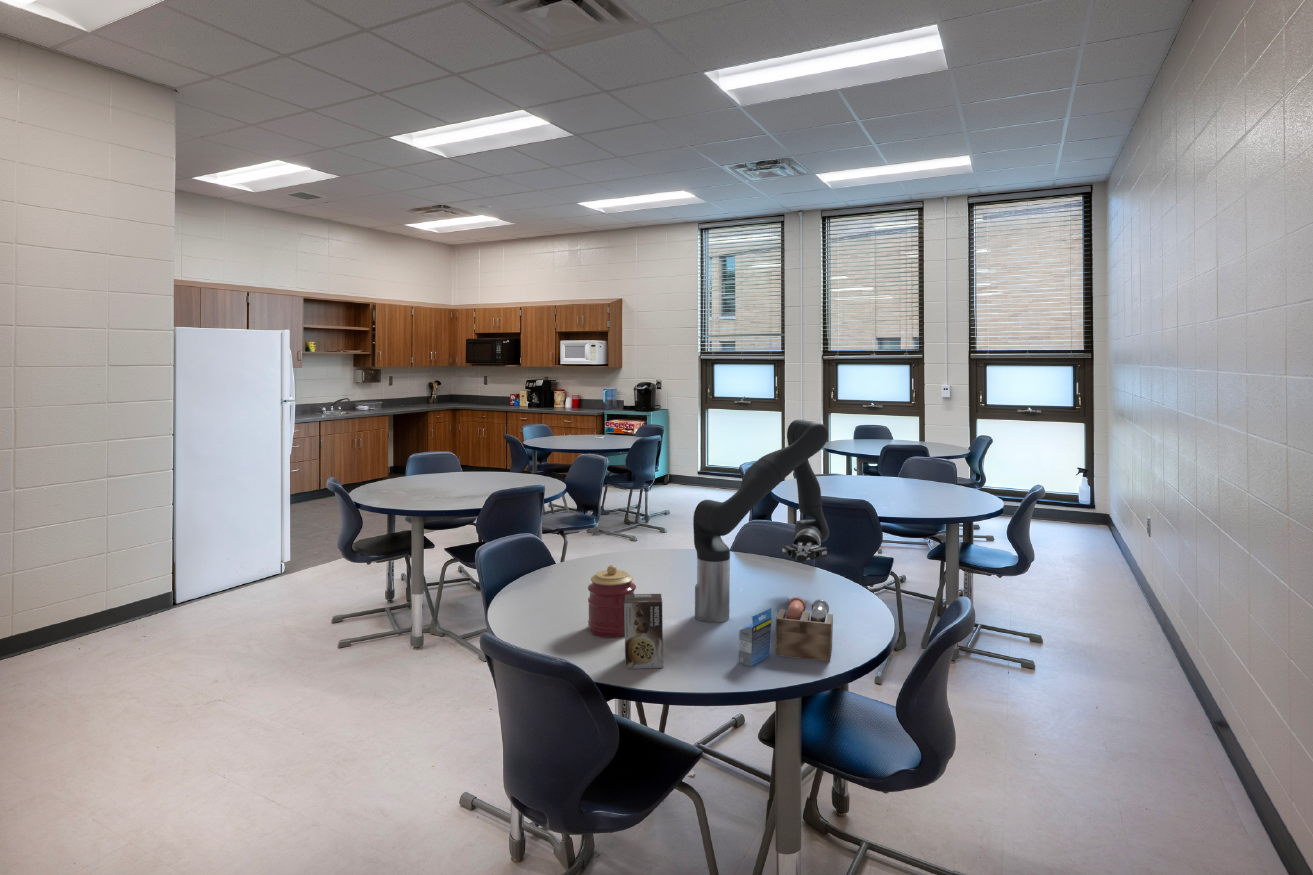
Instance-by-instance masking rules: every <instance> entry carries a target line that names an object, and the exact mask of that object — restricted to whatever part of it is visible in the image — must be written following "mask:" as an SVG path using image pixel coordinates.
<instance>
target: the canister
mask: <svg viewBox="0 0 1313 875" xmlns="http://www.w3.org/2000/svg"><path fill="white" fill-rule="evenodd" d="M633 580H634V577H633V575H631V574H629V573H628V572H627V571H625V570H621V569H618V568H617V566H615V565H614V564H613V565H611V564H610V565H609V566H607V569H603V570H601V571H598V572H596V573H595V574H593V575H592V576H591V577H590V581H591V583H589V584H588V586H587V590H588V592H589V596H588V598H587V602H588V619H587V623H588V624H587V626H588V630H589V632H590V633H591V634H592V635H594V636H598V637H601V638H620V637H625V618H624V597H625V595H626V594H635V590H636V589H637V586H636V584H635V583H634V582H633Z"/></svg>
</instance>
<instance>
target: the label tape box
mask: <svg viewBox="0 0 1313 875" xmlns="http://www.w3.org/2000/svg"><path fill="white" fill-rule="evenodd" d="M750 617H751V623H750V624H748V625H745V626H744V627H743V628H740V629H739V631H738V632H739V635H738V636H739V637H738V638H739V639H738V657H737V658H738V663H739V664H742V665H744V666H748V667H753V666H754V665H756V664H757V663H759V662H761V661H762V660H764V659H766V658H768V657H769V656H770V655H771V638H772V607H769V608H766V609H764V610H763V611H761V612H759V613H756V614H754V615H751V616H750ZM762 617H763V618H762ZM760 618H762V619H760Z"/></svg>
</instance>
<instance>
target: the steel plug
mask: <svg viewBox="0 0 1313 875" xmlns="http://www.w3.org/2000/svg"><path fill="white" fill-rule="evenodd" d="M829 611H830V605H829V603H828V602H827V601H826V600H824V599H821V598H819V599H816V600H814V601H813V602H812V605H811V614H810V621H813V622H823V623H826V620H827V614H829Z"/></svg>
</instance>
